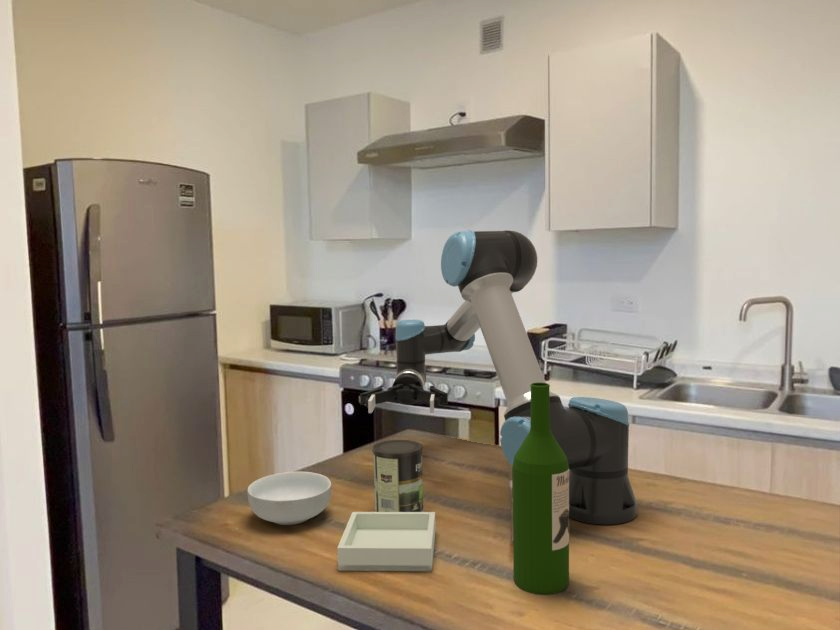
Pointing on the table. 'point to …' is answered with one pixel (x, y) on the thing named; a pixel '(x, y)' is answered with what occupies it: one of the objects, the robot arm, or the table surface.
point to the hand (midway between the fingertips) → (400, 407)
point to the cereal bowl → (289, 496)
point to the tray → (387, 542)
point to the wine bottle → (540, 504)
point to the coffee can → (398, 476)
